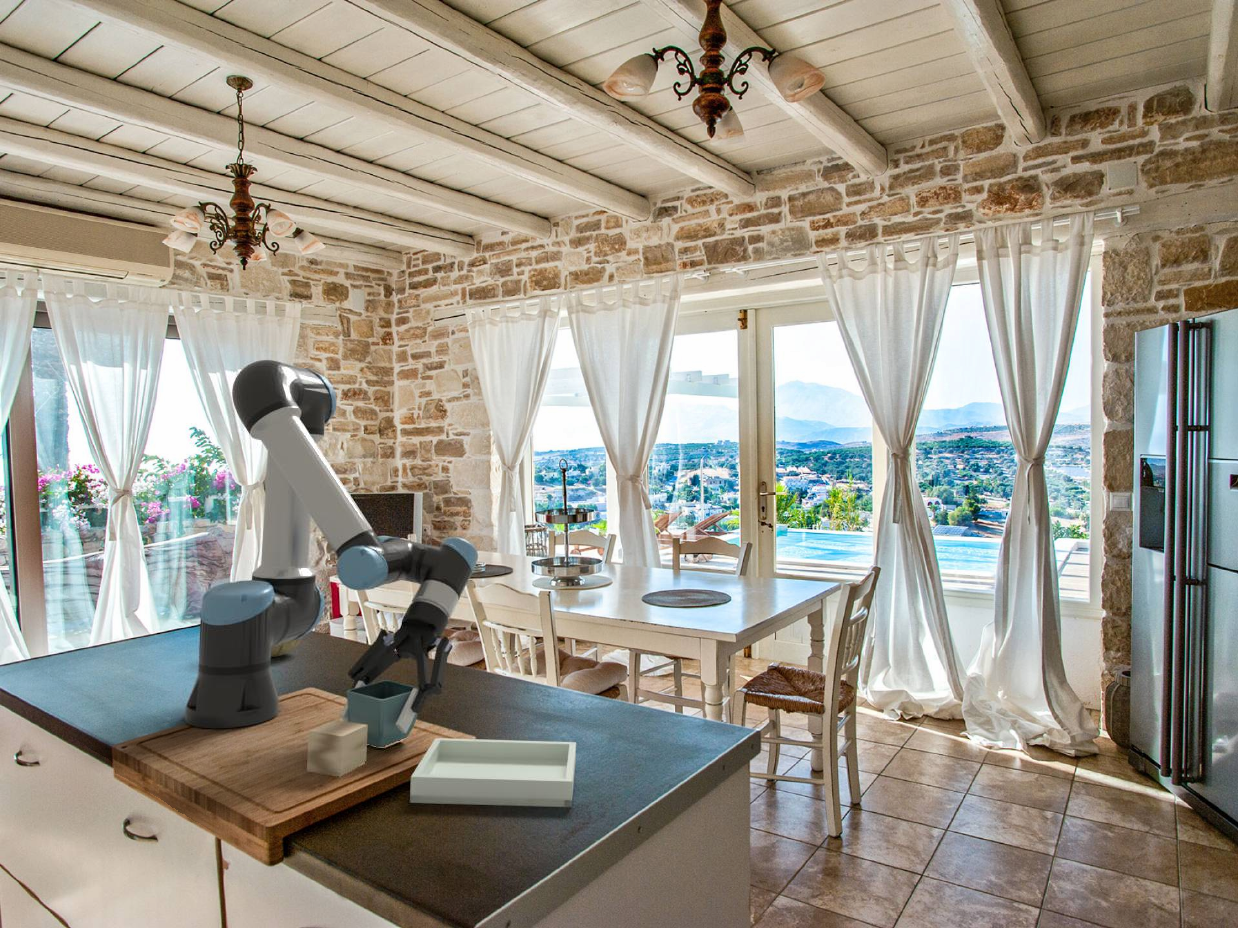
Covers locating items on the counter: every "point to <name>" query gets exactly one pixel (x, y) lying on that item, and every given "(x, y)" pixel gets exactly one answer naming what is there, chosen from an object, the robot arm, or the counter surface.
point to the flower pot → (380, 710)
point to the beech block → (337, 747)
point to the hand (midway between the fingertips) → (372, 724)
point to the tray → (495, 773)
